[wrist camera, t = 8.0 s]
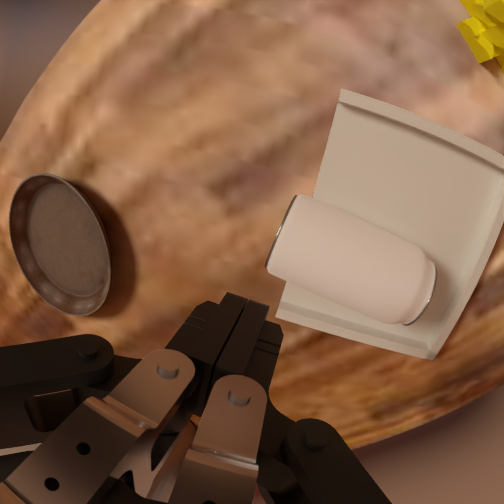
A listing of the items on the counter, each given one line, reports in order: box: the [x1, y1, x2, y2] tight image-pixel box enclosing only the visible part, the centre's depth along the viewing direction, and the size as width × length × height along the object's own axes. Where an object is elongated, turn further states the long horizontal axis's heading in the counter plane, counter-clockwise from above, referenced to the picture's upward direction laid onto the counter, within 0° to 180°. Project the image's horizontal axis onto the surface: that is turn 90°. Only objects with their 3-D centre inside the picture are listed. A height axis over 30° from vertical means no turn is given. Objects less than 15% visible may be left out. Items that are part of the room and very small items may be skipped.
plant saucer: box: [9, 173, 112, 316], centre depth 33 cm, size 18×18×3 cm
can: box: [265, 194, 438, 326], centre depth 24 cm, size 6×6×12 cm
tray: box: [275, 89, 504, 361], centre depth 25 cm, size 16×20×2 cm
